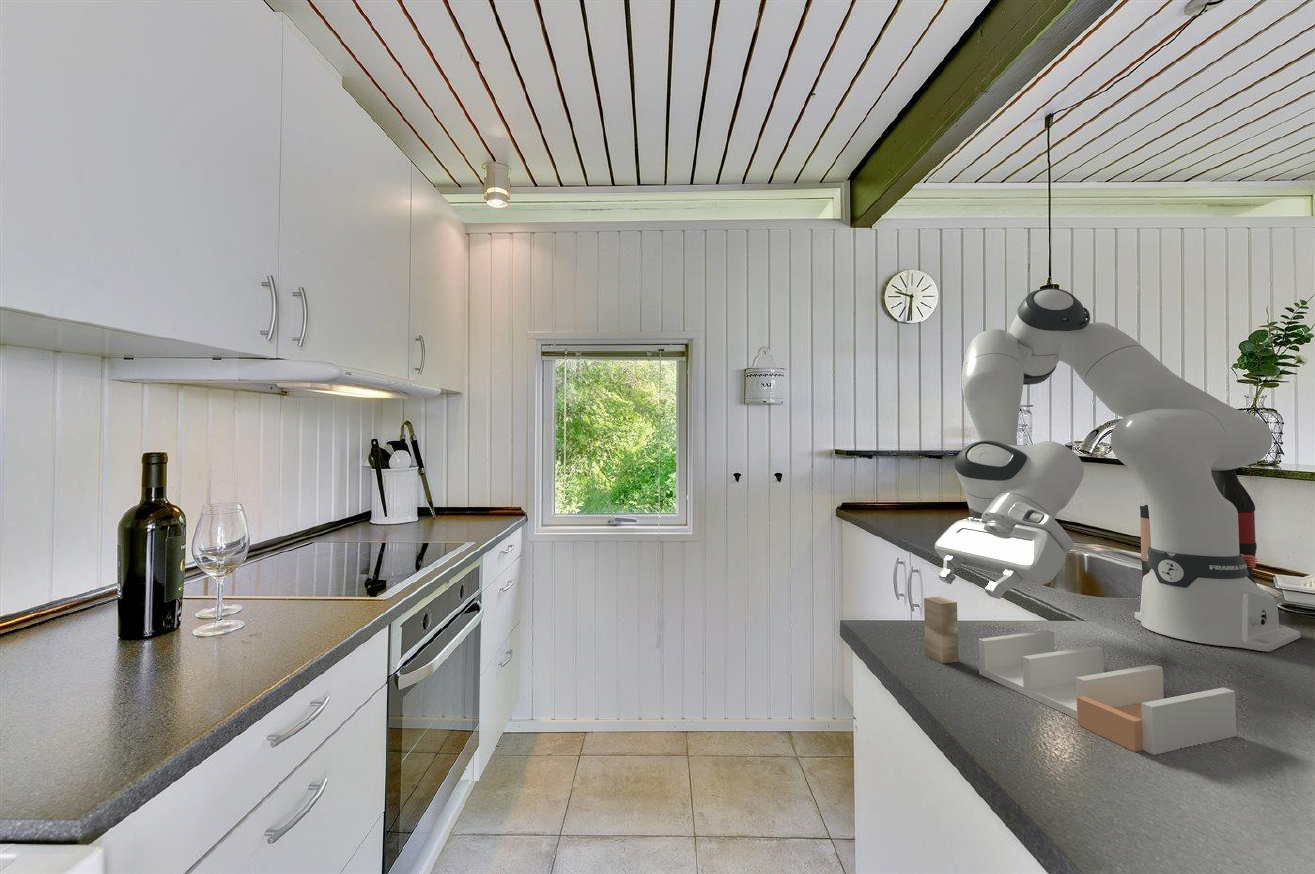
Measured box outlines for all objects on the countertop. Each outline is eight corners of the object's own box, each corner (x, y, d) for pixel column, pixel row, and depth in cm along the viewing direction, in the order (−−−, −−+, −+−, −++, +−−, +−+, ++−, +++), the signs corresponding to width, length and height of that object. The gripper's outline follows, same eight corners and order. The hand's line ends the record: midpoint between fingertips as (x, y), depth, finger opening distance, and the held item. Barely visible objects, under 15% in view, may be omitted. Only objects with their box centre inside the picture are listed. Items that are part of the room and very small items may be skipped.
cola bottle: (1245, 601, 114) (1239, 456, 115) (1269, 612, 106) (1263, 457, 107) (1191, 596, 117) (1186, 457, 118) (1211, 607, 110) (1205, 457, 110)
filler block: (941, 653, 87) (939, 596, 87) (958, 661, 84) (957, 602, 84) (925, 655, 86) (924, 597, 87) (942, 663, 83) (940, 603, 83)
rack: (1048, 663, 82) (1047, 629, 83) (1236, 735, 61) (1234, 690, 61) (972, 674, 79) (971, 639, 79) (1145, 756, 57) (1143, 708, 58)
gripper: (953, 504, 100) (908, 561, 97) (1061, 518, 80) (1009, 590, 77) (973, 527, 101) (930, 585, 98) (1085, 546, 81) (1035, 619, 79)
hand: (966, 587), depth 88 cm, fingers open, 8 cm apart
